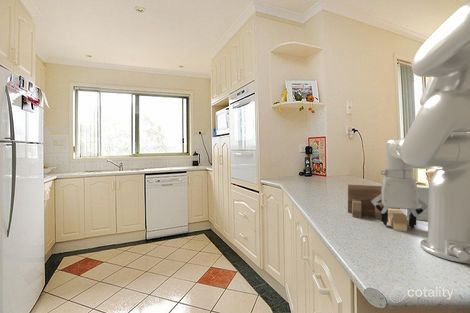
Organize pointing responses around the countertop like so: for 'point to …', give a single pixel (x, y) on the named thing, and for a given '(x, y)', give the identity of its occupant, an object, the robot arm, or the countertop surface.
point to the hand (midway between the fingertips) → (397, 225)
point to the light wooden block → (397, 219)
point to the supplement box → (424, 196)
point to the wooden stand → (363, 200)
